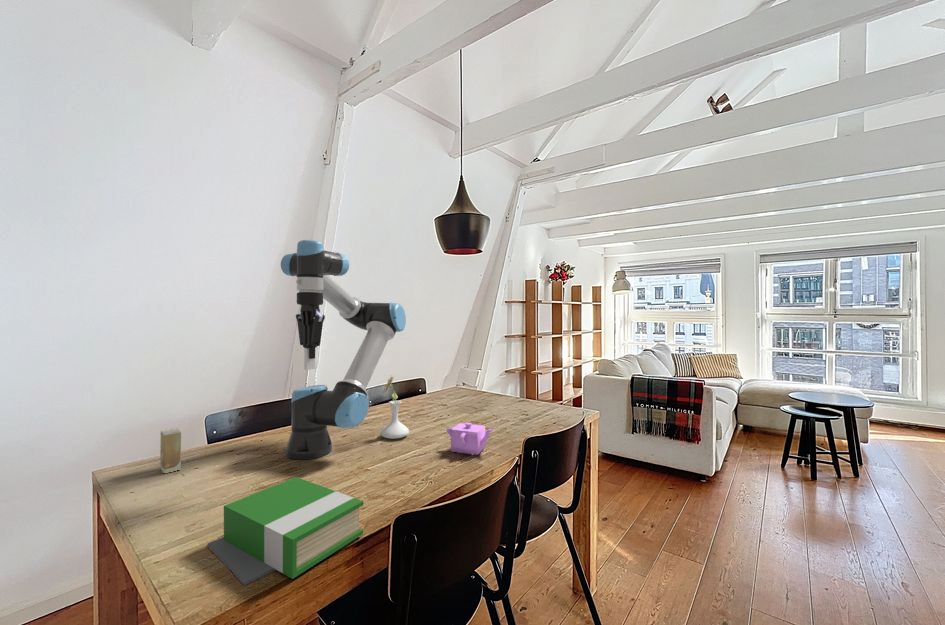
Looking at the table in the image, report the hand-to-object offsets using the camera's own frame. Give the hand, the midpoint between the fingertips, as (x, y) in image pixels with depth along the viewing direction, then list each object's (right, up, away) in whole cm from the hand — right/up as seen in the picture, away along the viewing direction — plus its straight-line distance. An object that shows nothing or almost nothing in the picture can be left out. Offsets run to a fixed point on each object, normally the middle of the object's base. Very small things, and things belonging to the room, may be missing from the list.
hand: (309, 369), depth 123 cm
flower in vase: (+19, -32, +37) cm, 52 cm away
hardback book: (0, -28, -27) cm, 40 cm away
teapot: (+49, -33, +21) cm, 62 cm away
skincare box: (-45, -32, +3) cm, 55 cm away
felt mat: (+7, -33, -34) cm, 48 cm away
